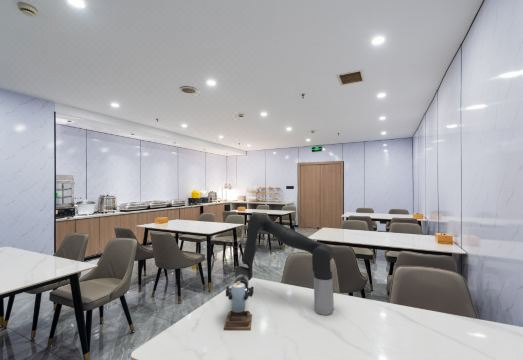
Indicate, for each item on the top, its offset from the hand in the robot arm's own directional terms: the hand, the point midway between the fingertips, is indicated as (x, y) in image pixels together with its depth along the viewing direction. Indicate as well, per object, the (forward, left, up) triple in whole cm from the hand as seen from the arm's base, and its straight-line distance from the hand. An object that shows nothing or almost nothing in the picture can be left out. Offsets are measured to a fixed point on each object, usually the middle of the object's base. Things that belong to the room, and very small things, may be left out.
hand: (237, 298), depth 113 cm
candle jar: (-2, -2, -6) cm, 6 cm away
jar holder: (-2, -2, -12) cm, 12 cm away
